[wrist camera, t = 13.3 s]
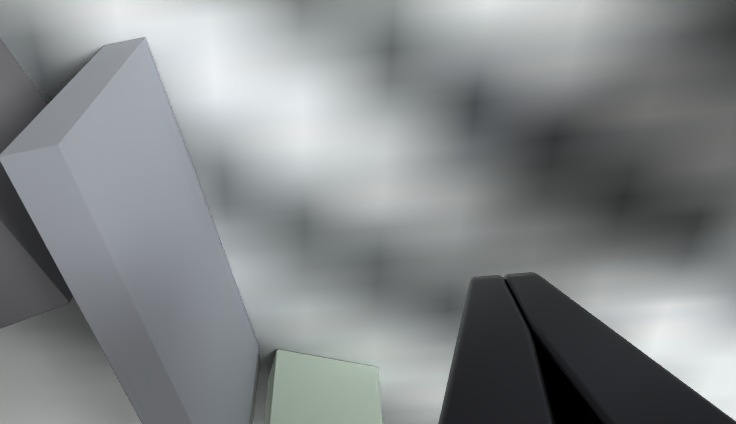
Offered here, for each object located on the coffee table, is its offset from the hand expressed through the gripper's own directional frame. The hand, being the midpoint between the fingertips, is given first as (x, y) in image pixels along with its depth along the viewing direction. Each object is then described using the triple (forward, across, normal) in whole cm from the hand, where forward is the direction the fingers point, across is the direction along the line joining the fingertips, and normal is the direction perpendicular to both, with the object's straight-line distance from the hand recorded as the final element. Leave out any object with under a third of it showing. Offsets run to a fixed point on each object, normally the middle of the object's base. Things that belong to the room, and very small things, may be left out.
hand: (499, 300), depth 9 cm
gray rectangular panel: (+12, +7, +6) cm, 15 cm away
